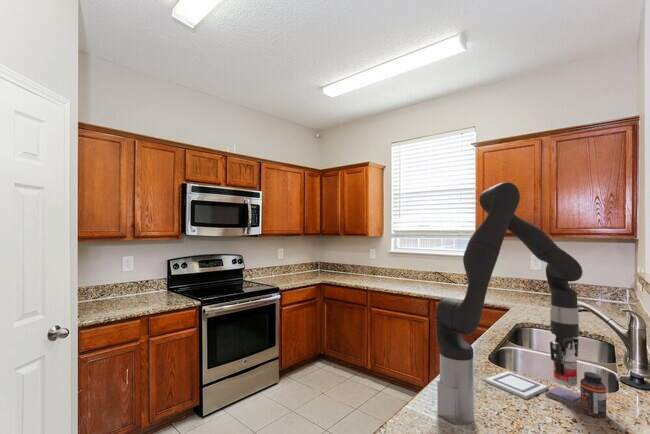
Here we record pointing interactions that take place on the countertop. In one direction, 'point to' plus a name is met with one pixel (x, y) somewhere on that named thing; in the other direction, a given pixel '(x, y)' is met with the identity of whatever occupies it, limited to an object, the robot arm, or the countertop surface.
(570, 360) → the pill bottle
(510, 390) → the board
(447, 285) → the countertop surface
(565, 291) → the robot arm
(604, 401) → the supplement bottle
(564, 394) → the ink pad
